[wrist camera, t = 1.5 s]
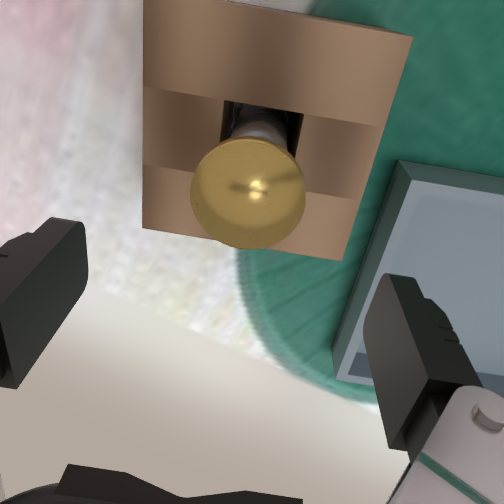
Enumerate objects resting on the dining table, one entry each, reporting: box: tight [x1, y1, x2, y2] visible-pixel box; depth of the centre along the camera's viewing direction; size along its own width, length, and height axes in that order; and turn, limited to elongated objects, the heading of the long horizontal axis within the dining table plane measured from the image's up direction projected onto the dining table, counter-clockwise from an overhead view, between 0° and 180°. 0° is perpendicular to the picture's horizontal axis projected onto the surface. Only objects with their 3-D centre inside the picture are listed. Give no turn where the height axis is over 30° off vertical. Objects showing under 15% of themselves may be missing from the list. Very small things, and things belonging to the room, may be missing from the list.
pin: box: [190, 104, 306, 249], centre depth 21 cm, size 4×4×13 cm
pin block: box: [142, 0, 414, 261], centre depth 24 cm, size 12×12×6 cm
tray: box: [331, 160, 504, 399], centre depth 30 cm, size 18×18×4 cm
